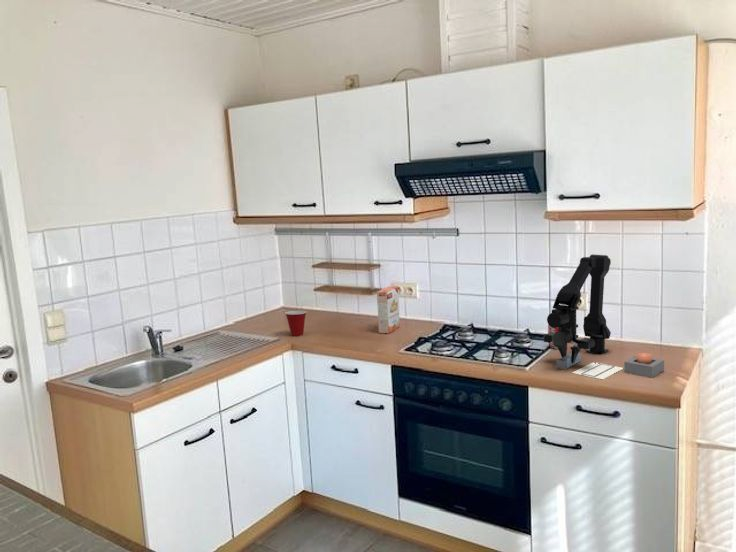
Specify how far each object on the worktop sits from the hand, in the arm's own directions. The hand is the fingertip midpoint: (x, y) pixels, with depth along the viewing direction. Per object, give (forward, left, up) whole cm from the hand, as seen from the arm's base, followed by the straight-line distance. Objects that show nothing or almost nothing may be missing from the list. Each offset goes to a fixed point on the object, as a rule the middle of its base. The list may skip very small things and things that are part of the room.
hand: (568, 362), depth 239 cm
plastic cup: (+36, -128, -1) cm, 133 cm away
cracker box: (+3, -96, -1) cm, 96 cm away
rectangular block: (0, 0, -1) cm, 1 cm away
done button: (-9, +25, +2) cm, 27 cm away
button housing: (-9, +25, -1) cm, 27 cm away
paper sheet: (0, +12, -1) cm, 12 cm away
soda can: (-18, -16, -1) cm, 24 cm away
